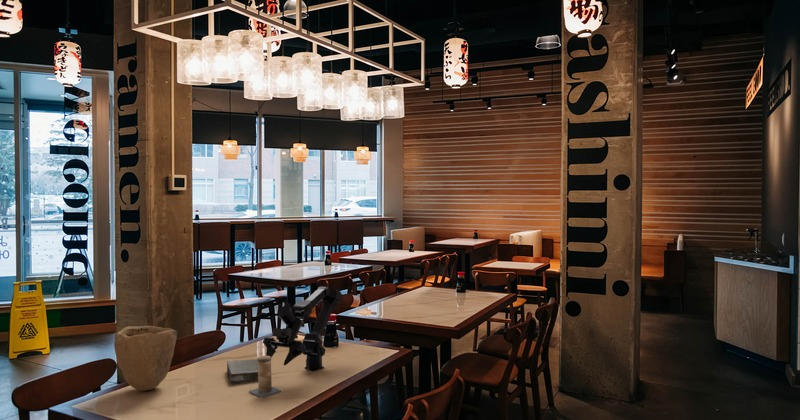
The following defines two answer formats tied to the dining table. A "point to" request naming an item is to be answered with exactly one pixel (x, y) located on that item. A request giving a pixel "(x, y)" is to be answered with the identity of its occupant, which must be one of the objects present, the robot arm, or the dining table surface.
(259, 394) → the slate mat
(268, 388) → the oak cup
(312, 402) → the dining table surface
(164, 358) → the bowl
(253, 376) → the stone block
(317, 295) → the robot arm
